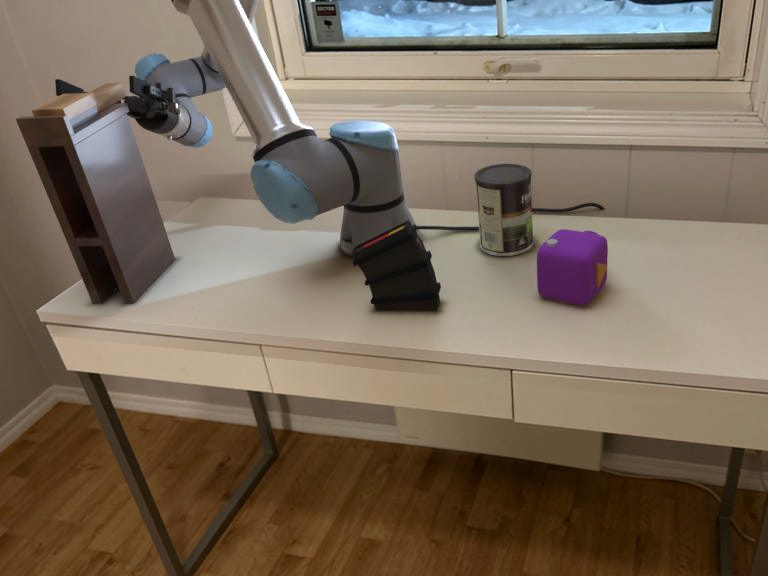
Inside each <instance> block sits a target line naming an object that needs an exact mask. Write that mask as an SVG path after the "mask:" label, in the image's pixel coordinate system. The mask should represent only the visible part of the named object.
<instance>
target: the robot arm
mask: <svg viewBox="0 0 768 576" xmlns="http://www.w3.org/2000/svg"><path fill="white" fill-rule="evenodd" d="M170 1H171V3H172V5H173V7H174V9H175V10H176V11H177V12H179V13H180V14H184V15H186V16H189V18H190V20H191V22H192V24H193V26H194V28H195V30H196V32H197V34H198V35H199V37H200V40H201V41H202V43H203V48H202V53H201V55H199V56H196V57H192V58H187V59H182V60H179V61H178V60H177V61H174V62H171V61H170V59H168V58H167V56H165V54H162V53H155V52H154V53H149V54H147V55H144V56H143V57H141V58H140V59H139V60H138V61H137V62H136V64H135V66H134V74H135V75H129V76H128V81H129V82H128V83H129V84H128V85H129V93H131V94H133V95H131V96H130V95H126V97H124V98H122V99H121V100H119V101H117V102H116V103H114V104H117V103H122V100H124V101H123V103H127V105H128V109H129V112H128V113H127V115H128V117H130V118H132V119H134V120H135V121H136V123H137V124H138V125H139V126H140V127H141V128H142V129H144V130H146V131H148V132H151V133H154V134H157V135H159V136H162V137H165V138H166V140H167V141H174V142H176V143H178V144H181V146H184V147H191V148H195V149H197V148H202V147H204V146H206V145H207V144H208V143H209V142H210V140H211V139H212V137H213V125H212V122H211V120H210V119H209V118H208V117H207V116H206V115H205V114H203V113H202V112H200V111H199V110H198V109H197V107H196V106H195V104H194V102H193V101H192V98H195V97H198V96H203V95H206V94H210V93H214V92H219V91H223V90H224V89H223V88H225V87H226V88H227V89H226V90H227V91H228V93H229V95H230V97H231V99H232V101H233V103H234V105H235V107H236V109H237V111H238V113H239V115H240V117H241V119H242V120H243V123H244V124H245V127H246V129H247V130H248V132H249V134H250V137H251V138H252V140H253V142H254V144H255V146H254V148H253V152H252V154H251V156H252V160H253V161H254V163H253V164H252V166H251V168H250V179H251V182H252V183H253V189H254V192H255V194H256V195H257V197H258V199H259V201H260V202H261V204H262V205H263V206H264V208H265V209H266V210H267V211H268V213H269V214H271V215H272V216H273V217H274V218H275V219H277V220H279V221H281V223H282V222H283V223H285V224H289V225H291V224H293V225H294V224H297V223H301V222H304V221H309V220H313V219H315V218H316V217H317V216H319V215H322V214H325V213H327V212H330V211H332V210H335V209H338V208H340V207H341V208H342V207H343V214H342V221H341V227H340V233H339V234H340V236H339V242H340V248H341V250H342V252H344V253H345V254H346V255H348V256H349V257H352V256H351V255H350V254H351V252H352V250H353V249H354V247H355V246H357V245H359V244H361V243H363V242H365V241H367V240H369V239H371V238H373V237H375V236H377V235H379V234H381V233H383V232H385V231H387V230H389V229H391V228H393V227H395V226H397V225H399V224H401V223H403V222H405V221H407V220H409V221H410V223H411V224H412V225H414V224H416V226H417V228H418V229H417V231H416V232H417V234H418V235H419V230H435V231H436V230H437V231H479V225H478V226H445V225H443V226H442V225H418V224H417V223H416V221H415V219H414V216H413V215H412V212H411V211H410V209H409V206H408V205H407V202H406V200H405V199H406V198H405V192H404V185H403V178H402V170H401V169H402V168H401V161H400V155H399V151H400V147H399V146H398V140H397V135H396V132H395V130H394V128H392V127H391V126H390V125H388V124H386V123H383V122H379V121H373V120H348V121H342V122H341V121H340V122H336V123H334V124H332V125H331V126H330V127H329V132H328V135H329V136H330V138H328V139H325V140H320V139H319V137H318V134H317V133H316V131H315V128H313V127H311V126H309V125H305V124H304V123H302V122H301V121H300V118H299V116H298V115H297V112H296V110H295V109H294V107H293V105H292V103H291V101H290V99H289V97H288V95H287V93H286V91H285V88H284V87H283V85H282V83H281V81H280V79H279V77H278V76H277V72H276V71H275V69H274V68H273V66H272V63H271V62H270V60H269V58H268V56H267V54H266V52H265V50H264V48H263V45H262V43H261V42H260V40H259V38H258V35H257V34H256V32H255V30H254V28H253V26H252V24H253V21H254V17H255V14H256V12H257V9H258V6H259V3H260V0H170ZM54 82H55V83H54V85H55V96H56V97H58V96H60V95H62V94H73V93H88V92H89V91H85V89H83V88H81V87H79V86H76V85H74V84H72V83H69V82H67V81H65V80H62V79H60V78H55V79H54ZM588 207H594V208H597V209H599V210H601V211H605V210H606V208H605V207H604V206H603V205H601V204H599V203H596V202H585V203H581V204H578V205H574V206H571V207H567V208H544V207H543V208H542V207H532V213H534V212H536V213H537V212H538V213H568V212H572V211H576V210H579V209H583V208H588ZM419 236H420V235H419Z"/></svg>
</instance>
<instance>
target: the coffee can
mask: <svg viewBox="0 0 768 576" xmlns="http://www.w3.org/2000/svg"><path fill="white" fill-rule="evenodd" d="M473 178H474V182H475V193H476V205H477V206H476V207H477V220H478V226H479V230H478V231H479V247H480V250H481V251H482V252H483V253H485V254H488V255H491V256H495V257H513V256H518V255H521V254H525V253H526V252H528V251H529V250H531V249H532V248H533V247H534V244H535V243H534V230H533V212H532V208H533V202H532V199H533V198H532V170H531V169H530V167H527V166H525V165H522V164H518V163H497V164H492V165H487V166H485V167H482V168H480V169H478V170H477V171H476V172H474V175H473Z"/></svg>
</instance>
